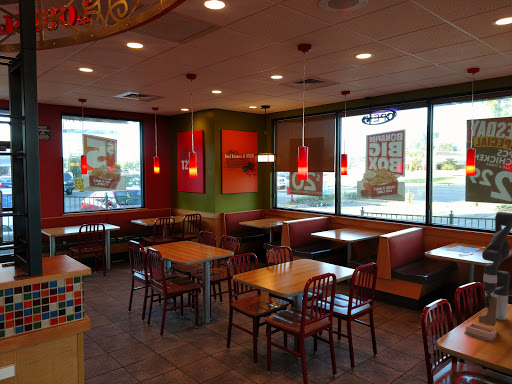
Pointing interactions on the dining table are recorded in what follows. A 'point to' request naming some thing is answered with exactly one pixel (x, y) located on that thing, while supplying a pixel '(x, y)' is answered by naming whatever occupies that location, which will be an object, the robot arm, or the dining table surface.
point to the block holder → (481, 332)
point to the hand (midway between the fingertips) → (488, 306)
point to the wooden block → (490, 313)
